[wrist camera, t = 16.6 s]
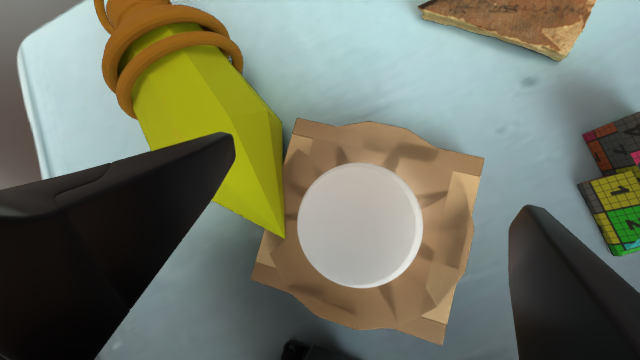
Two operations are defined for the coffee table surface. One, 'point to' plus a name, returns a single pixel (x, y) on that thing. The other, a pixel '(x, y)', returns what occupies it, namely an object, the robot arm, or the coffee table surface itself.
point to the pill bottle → (360, 225)
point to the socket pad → (437, 240)
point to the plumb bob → (195, 96)
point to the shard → (517, 21)
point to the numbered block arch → (616, 183)
